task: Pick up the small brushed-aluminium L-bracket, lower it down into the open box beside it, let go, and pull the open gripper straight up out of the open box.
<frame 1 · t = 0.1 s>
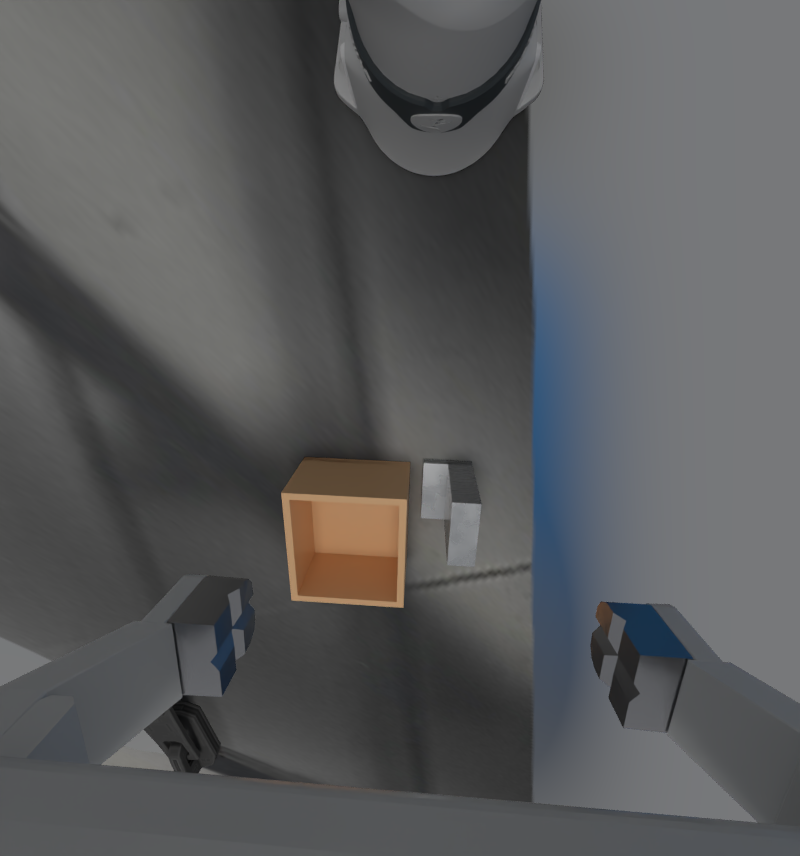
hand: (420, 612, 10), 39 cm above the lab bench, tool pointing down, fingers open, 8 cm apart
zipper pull: (184, 708, 72), on the lab bench
aluminium bracket: (457, 488, 52), on the lab bench
open box: (358, 509, 54), on the lab bench
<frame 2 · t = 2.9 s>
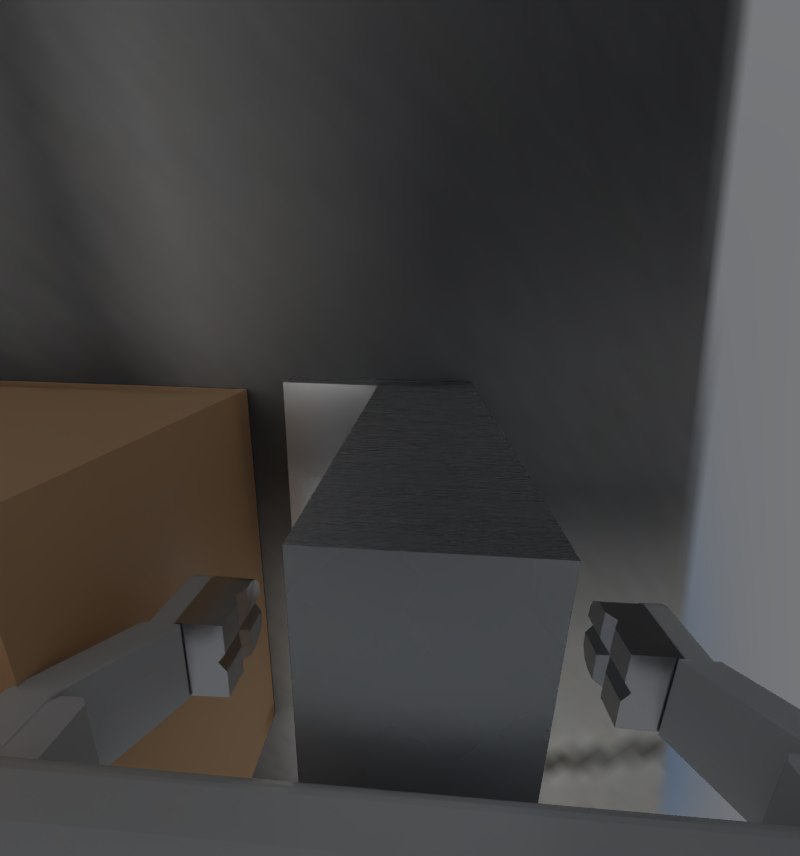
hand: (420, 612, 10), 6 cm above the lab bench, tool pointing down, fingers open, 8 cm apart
aluminium bracket: (421, 488, 15), on the lab bench
open box: (99, 563, 17), on the lab bench
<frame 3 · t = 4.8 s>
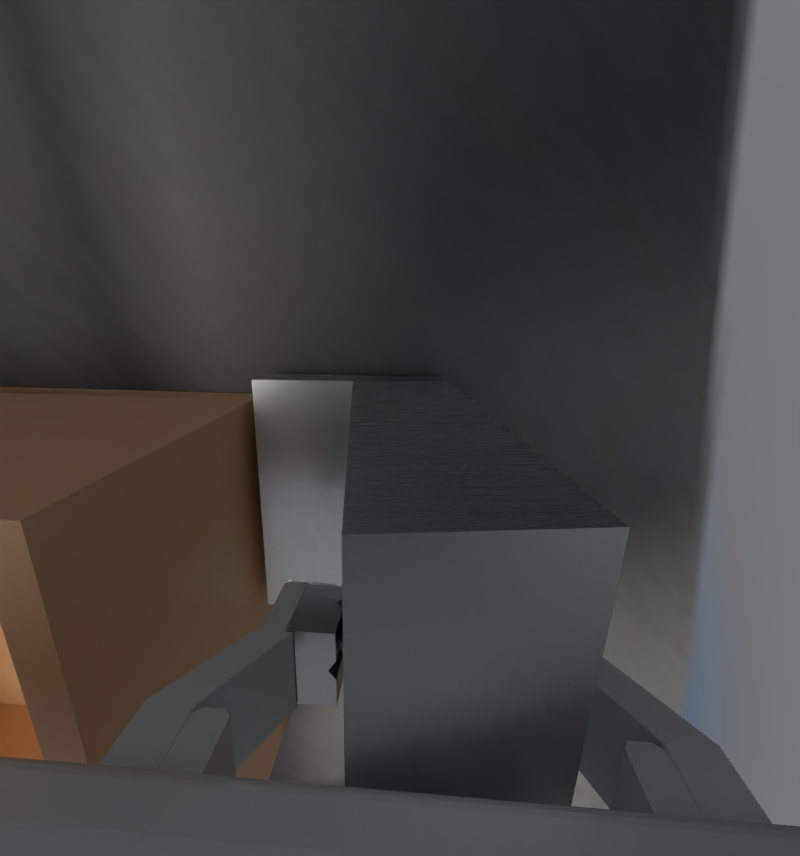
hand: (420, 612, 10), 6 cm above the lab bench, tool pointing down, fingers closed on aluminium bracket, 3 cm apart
aluminium bracket: (394, 484, 15), on the lab bench, tilted 9°, touching gripper
open box: (117, 566, 17), on the lab bench
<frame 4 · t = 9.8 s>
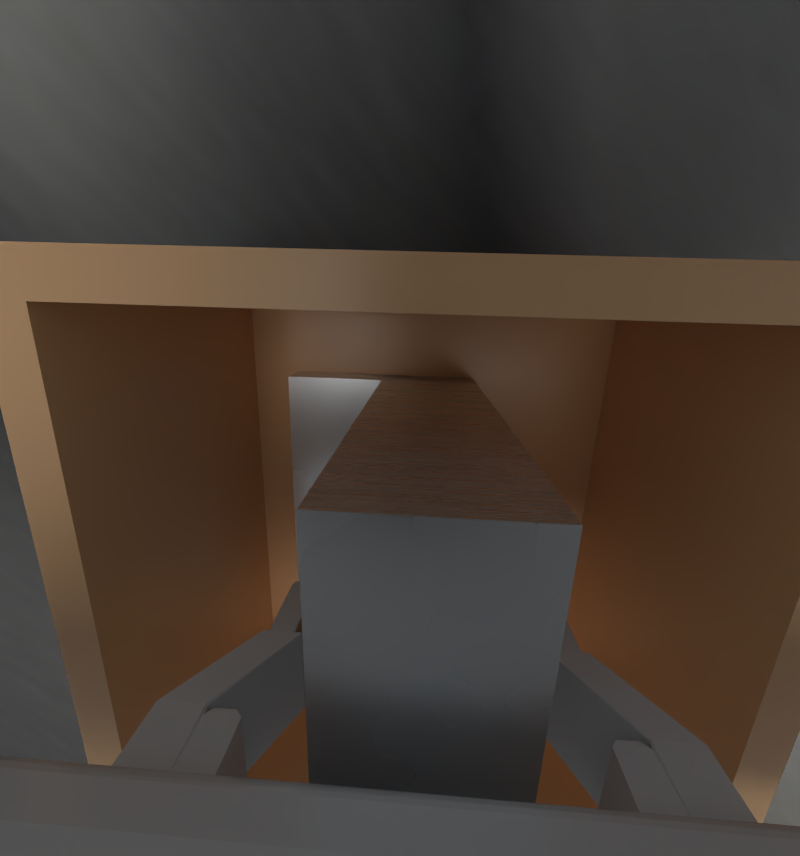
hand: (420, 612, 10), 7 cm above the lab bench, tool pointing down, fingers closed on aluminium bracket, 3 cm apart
aluminium bracket: (423, 483, 15), point 1 cm above the lab bench, touching gripper, open box
open box: (421, 488, 16), on the lab bench
when the fingers open (7 cm above the lab bench, at t = 10.5 s): aluminium bracket stays where it is, resting on open box.
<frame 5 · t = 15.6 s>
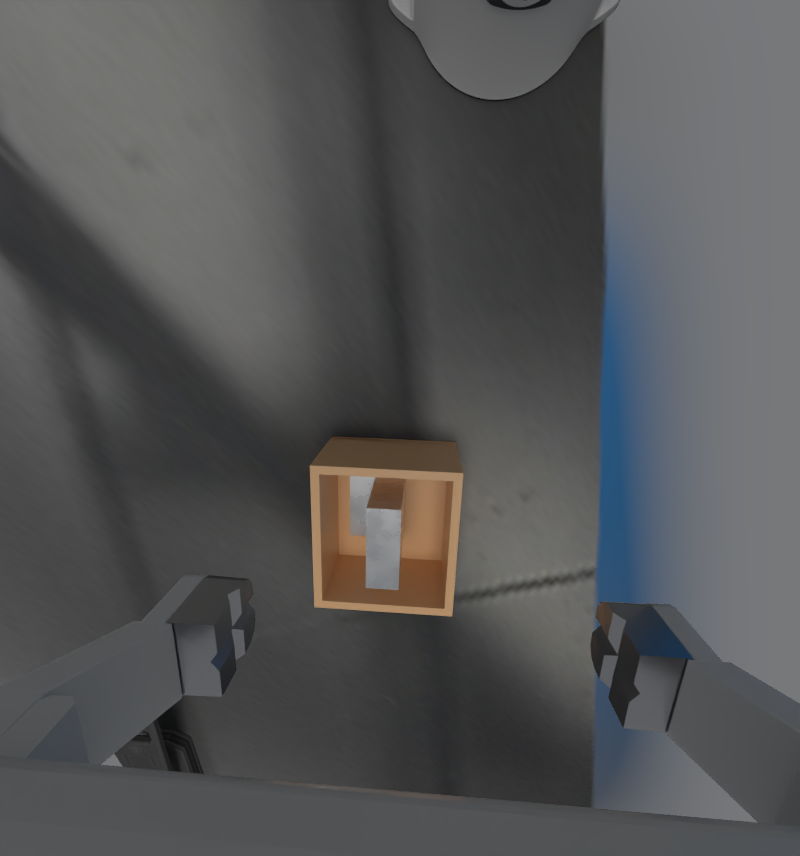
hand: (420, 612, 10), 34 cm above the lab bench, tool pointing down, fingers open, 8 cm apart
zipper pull: (171, 738, 59), on the lab bench
aluminium bracket: (391, 500, 45), point 1 cm above the lab bench, touching open box
open box: (391, 501, 46), on the lab bench
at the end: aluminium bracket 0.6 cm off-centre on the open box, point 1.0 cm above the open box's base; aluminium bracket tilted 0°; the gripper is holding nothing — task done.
